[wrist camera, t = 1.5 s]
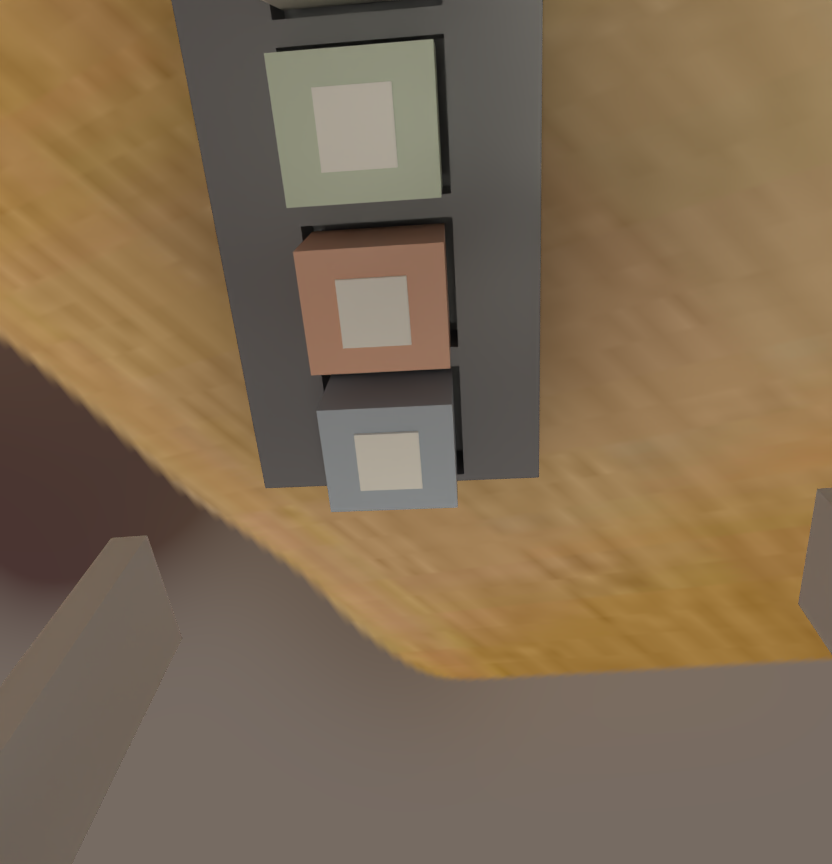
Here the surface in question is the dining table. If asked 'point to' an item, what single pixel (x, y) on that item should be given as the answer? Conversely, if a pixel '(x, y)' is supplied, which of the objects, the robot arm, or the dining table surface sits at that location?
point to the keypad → (382, 213)
